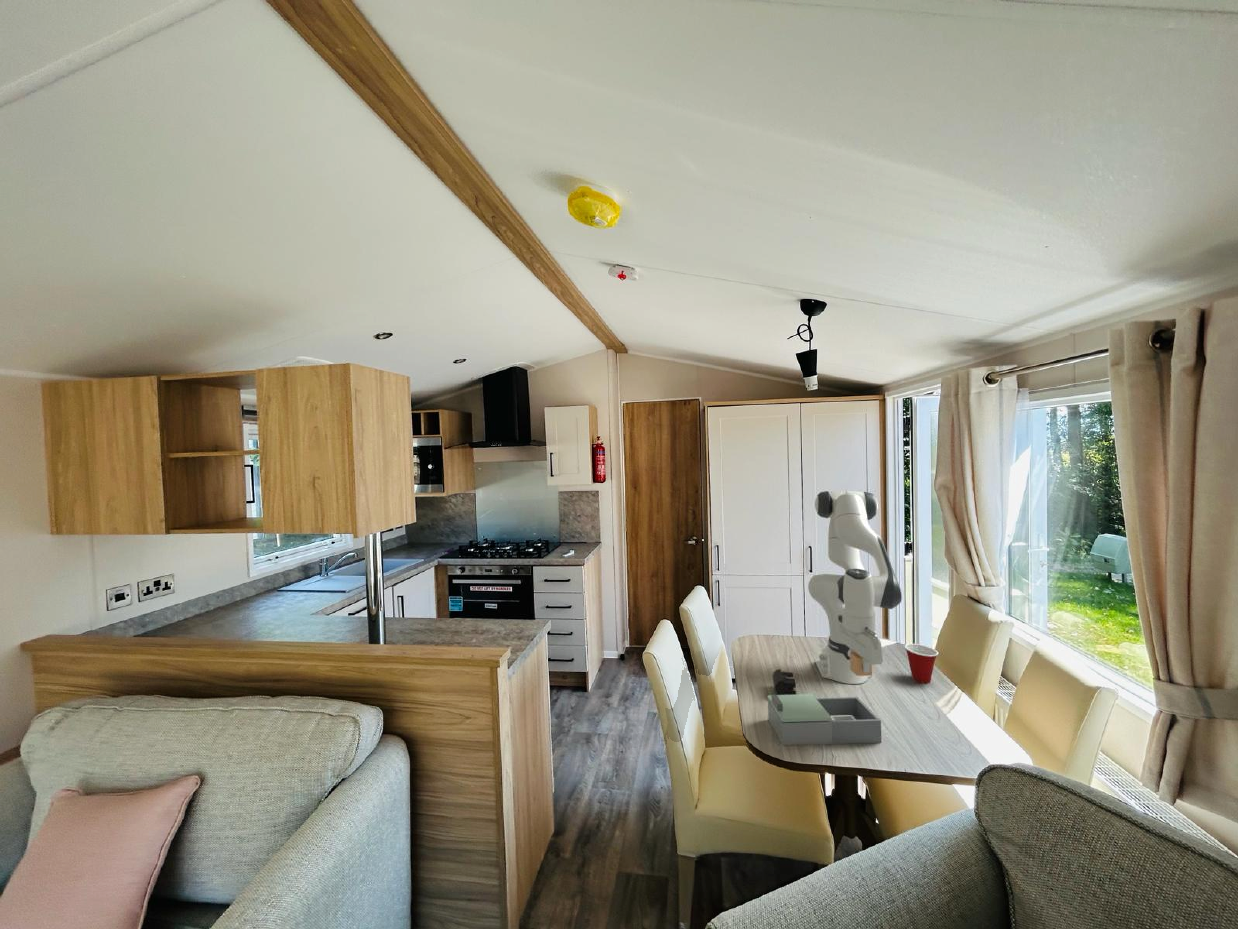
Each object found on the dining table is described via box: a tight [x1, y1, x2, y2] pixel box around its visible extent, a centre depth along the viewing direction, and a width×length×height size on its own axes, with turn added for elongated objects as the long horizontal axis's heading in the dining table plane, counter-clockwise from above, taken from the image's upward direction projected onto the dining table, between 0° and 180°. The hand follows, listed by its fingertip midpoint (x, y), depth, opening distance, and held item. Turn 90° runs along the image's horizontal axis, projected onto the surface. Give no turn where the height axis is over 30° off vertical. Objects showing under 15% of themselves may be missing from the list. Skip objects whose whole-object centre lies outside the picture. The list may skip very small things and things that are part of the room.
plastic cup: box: [904, 643, 939, 684], centre depth 185 cm, size 11×11×12 cm
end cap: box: [772, 668, 797, 695], centre depth 179 cm, size 10×7×7 cm
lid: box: [767, 693, 831, 722], centre depth 154 cm, size 15×15×3 cm
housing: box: [767, 696, 882, 746], centre depth 154 cm, size 15×29×6 cm, turn 90°
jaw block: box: [850, 652, 873, 677], centre depth 153 cm, size 4×4×6 cm
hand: (860, 667), depth 153 cm, fingers closed on jaw block, 4 cm apart
